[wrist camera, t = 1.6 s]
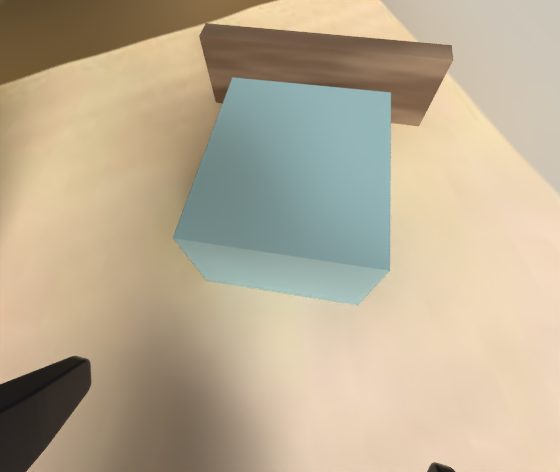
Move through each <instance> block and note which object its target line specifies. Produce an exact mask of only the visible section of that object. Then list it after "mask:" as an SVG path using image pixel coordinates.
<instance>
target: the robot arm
mask: <svg viewBox="0 0 560 472" xmlns="http://www.w3.org/2000/svg"><path fill="white" fill-rule="evenodd" d="M90 386H91V365H90V361H89V360H88V359H86V358H82V357H79V356H72V357H69V358H67V359H64V360H62V361H59V362H56V363H54V364H51V365H49V366H46V367H44V368H41V369H39V370H36V371H33V372H31V373H28V374H26V375H23V376H21V377H18V378H16V379H13V380H10V381H8V382H5V383H3V384H0V472H26V471H27V470H28V469H29V467H30V466H31V465H32V464H33V463H34V462H35V460H36V459H37V458H38V457H39V456H40V455H41V453H42V452H43V451H44V450H45V448H46V447H47V446H48V445H49V443H50V442H51V441H52V439H53V438H54V437H55V435H56V434H57V433H58V431H59V430H60V429H61V427H62V426H63V425H64V423H65V422H66V420H67V419H68V418H69V416H70V415H71V414H72V412H73V411H74V410H75V408H76V407H77V406H78V404H79V403H80V402H81V400H82V399H83V398H84V396H85V395H86V394H87V392H88V390H89V388H90ZM427 472H455V471H454V470H453V469H452V468H451V467H449V466H446V465H443V464H439V463H435V462H434V463H432V464H431V465H430V467H429V469H428V471H427Z"/></svg>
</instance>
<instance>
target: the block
mask: <svg viewBox="0 0 560 472" xmlns="http://www.w3.org/2000/svg"><path fill="white" fill-rule="evenodd" d="M390 159H391V92H381V91H370V90H360V89H349V88H339V87H328V86H318V85H307V84H296V83H286V82H275V81H265V80H254V79H244V78H233V77H232V80H231V83H230V85H229V88H228V91H227V93H226V96H225V99H224V101H223V104H222V107H221V110H220V112H219V115H218V118H217V120H216V123H215V126H214V128H213V131H212V134H211V137H210V139H209V142H208V145H207V147H206V150H205V153H204V155H203V158H202V161H201V163H200V166H199V169H198V172H197V174H196V177H195V180H194V182H193V185H192V188H191V190H190V193H189V196H188V199H187V201H186V204H185V207H184V209H183V212H182V215H181V217H180V220H179V223H178V226H177V228H176V231H175V234H174V236H173V239H174V240H175V242H176V243H177V244H178V245H179V247H180V248H181V249H182V250H183V252H184V253H185V254H186V255H187V257H188V258H189V259H190V260H191V262H192V263H193V264H194V265H195V267H196V268H197V269H198V270H199V272H200V273H201V274H202V275H203V277H204V278H205V279H206V281H212V282H218V283H224V284H230V285H236V286H242V287H248V288H254V289H261V290H267V291H273V292H279V293H285V294H291V295H297V296H304V297H310V298H316V299H322V300H328V301H334V302H340V303H346V304H353V305H358V304H359V303H360V302H361V301H362V300H363V299H364V298H365V297H366V296H367V295H368V294H369V293H370V292H371V290H372V289H373V288H374V287H375V286H376V285H377V284H378V283H379V282H380V281H381V280H382V279H383V278H384V277H385V275H386V274H387V273H388V272H389V271H390Z"/></svg>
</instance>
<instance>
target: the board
mask: <svg viewBox="0 0 560 472" xmlns="http://www.w3.org/2000/svg"><path fill="white" fill-rule="evenodd" d="M199 37H200V41H201V45H202V49H203V52H204V56H205V60H206V64H207V68H208V72H209V76H210V80H211V84H212V88H213V92H214V96H215V100H216V102H219V103H223V101H224V99H225V96H226V93H227V91H228V88H229V85H230V83H231V80H232V77H233V78H244V79H254V80H265V81H275V82H286V83H296V84H307V85H318V86H328V87H339V88H349V89H360V90H370V91H381V92H391V123H397V124H406V125H414V126H419V125H420V123H421V121H422V119H423V117H424V115H425V113H426V111H427V109H428V108H429V106H430V104H431V102H432V100H433V98H434V96H435V94H436V92H437V90H438V88H439V86H440V84H441V82H442V80H443V78H444V77H445V75H446V73H447V71H448V69H449V67H450V65H451V63H452V61H453V55H452V46H451V45H441V44H430V43H420V42H408V41H397V40H386V39H375V38H364V37H352V36H341V35H330V34H319V33H308V32H297V31H285V30H274V29H263V28H252V27H241V26H229V25H218V24H207V23H206V24H205V26H204V28H203V30H202V32H201V34H200V36H199Z"/></svg>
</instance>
